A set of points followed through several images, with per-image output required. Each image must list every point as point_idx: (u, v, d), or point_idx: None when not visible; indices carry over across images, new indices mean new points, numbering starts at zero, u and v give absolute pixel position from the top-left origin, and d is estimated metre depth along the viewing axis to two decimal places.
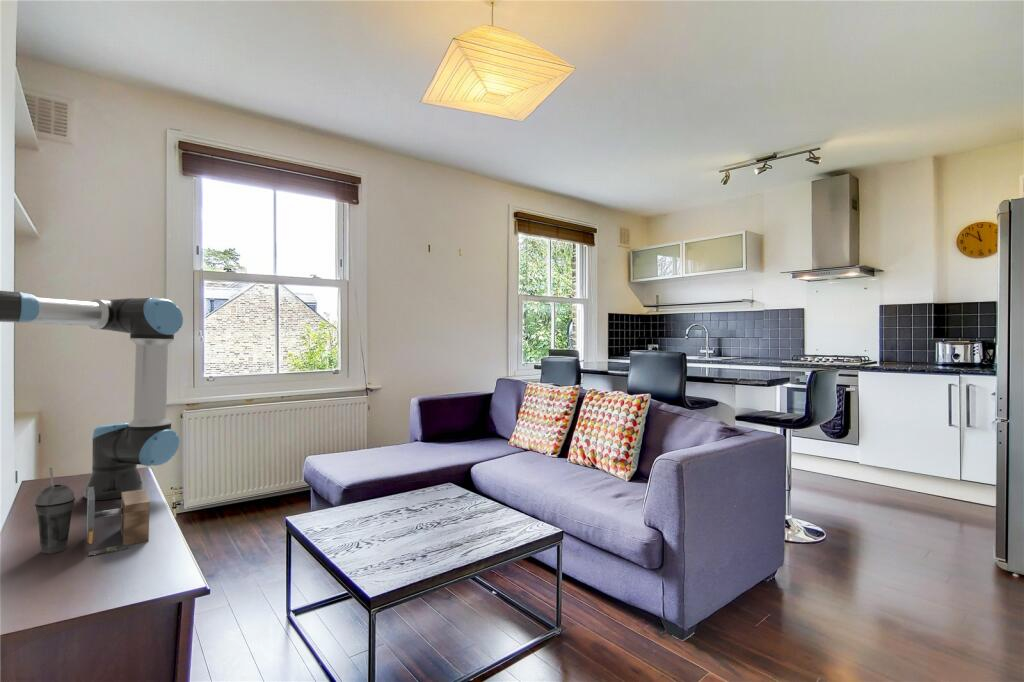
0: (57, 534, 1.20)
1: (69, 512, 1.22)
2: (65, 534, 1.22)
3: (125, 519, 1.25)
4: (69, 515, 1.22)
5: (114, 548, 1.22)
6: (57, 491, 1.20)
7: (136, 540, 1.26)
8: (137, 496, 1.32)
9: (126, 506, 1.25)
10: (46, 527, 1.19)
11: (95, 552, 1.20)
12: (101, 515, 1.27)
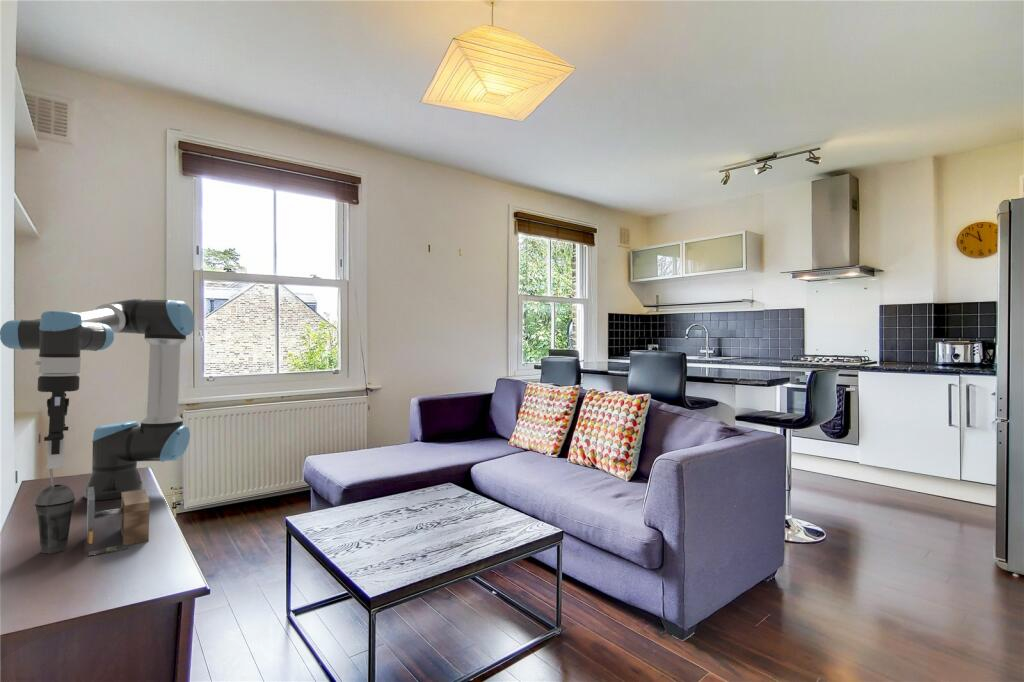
0: (57, 534, 1.20)
1: (69, 512, 1.22)
2: (65, 534, 1.22)
3: (125, 519, 1.25)
4: (69, 515, 1.22)
5: (114, 548, 1.22)
6: (57, 491, 1.20)
7: (136, 540, 1.26)
8: (137, 496, 1.32)
9: (126, 506, 1.25)
10: (46, 527, 1.19)
11: (95, 552, 1.20)
12: (101, 515, 1.27)
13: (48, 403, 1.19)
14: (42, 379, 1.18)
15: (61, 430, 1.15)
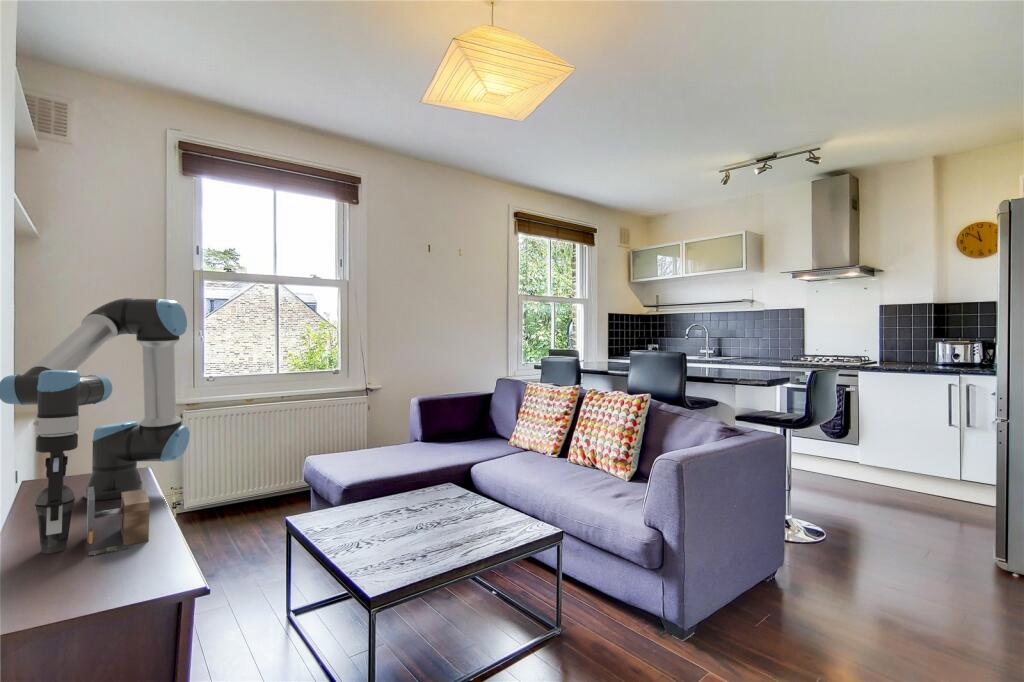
0: (57, 534, 1.20)
1: (69, 512, 1.22)
2: (65, 534, 1.22)
3: (125, 519, 1.25)
4: (69, 515, 1.22)
5: (114, 548, 1.22)
6: None
7: (136, 540, 1.26)
8: (137, 496, 1.32)
9: (126, 506, 1.25)
10: None
11: (95, 552, 1.20)
12: (101, 515, 1.27)
13: (46, 465, 1.19)
14: (40, 440, 1.18)
15: (60, 498, 1.17)
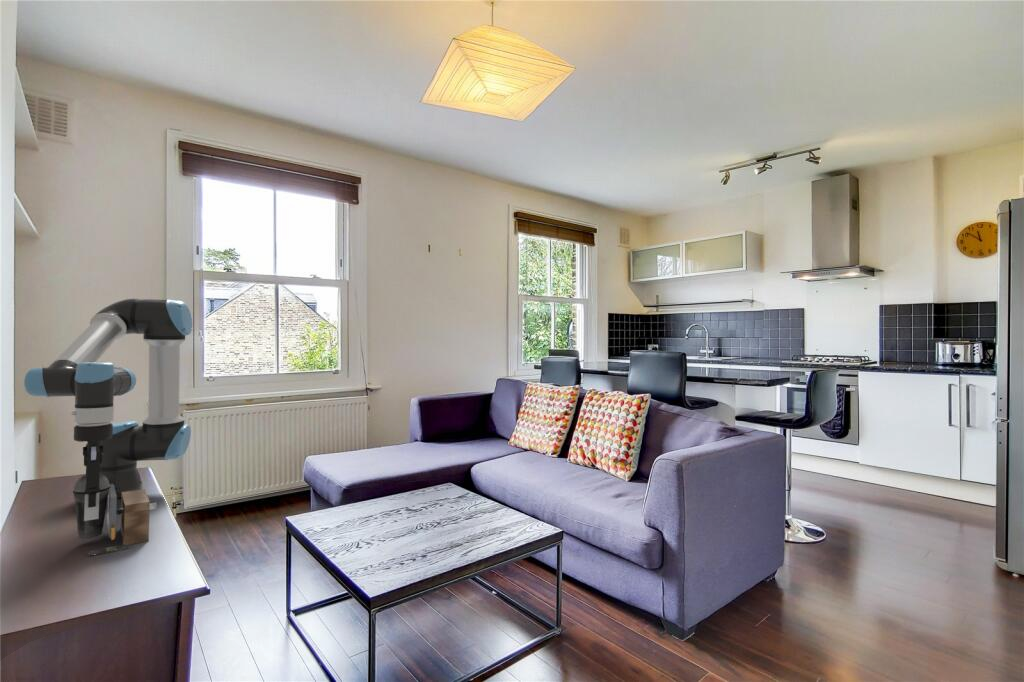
0: (94, 520, 1.25)
1: (105, 499, 1.27)
2: (101, 520, 1.26)
3: (125, 519, 1.25)
4: (105, 502, 1.27)
5: (114, 548, 1.22)
6: None
7: (136, 540, 1.26)
8: (137, 496, 1.32)
9: (126, 506, 1.25)
10: (83, 513, 1.23)
11: (95, 552, 1.20)
12: (122, 512, 1.29)
13: (84, 453, 1.24)
14: (78, 429, 1.23)
15: (97, 485, 1.21)
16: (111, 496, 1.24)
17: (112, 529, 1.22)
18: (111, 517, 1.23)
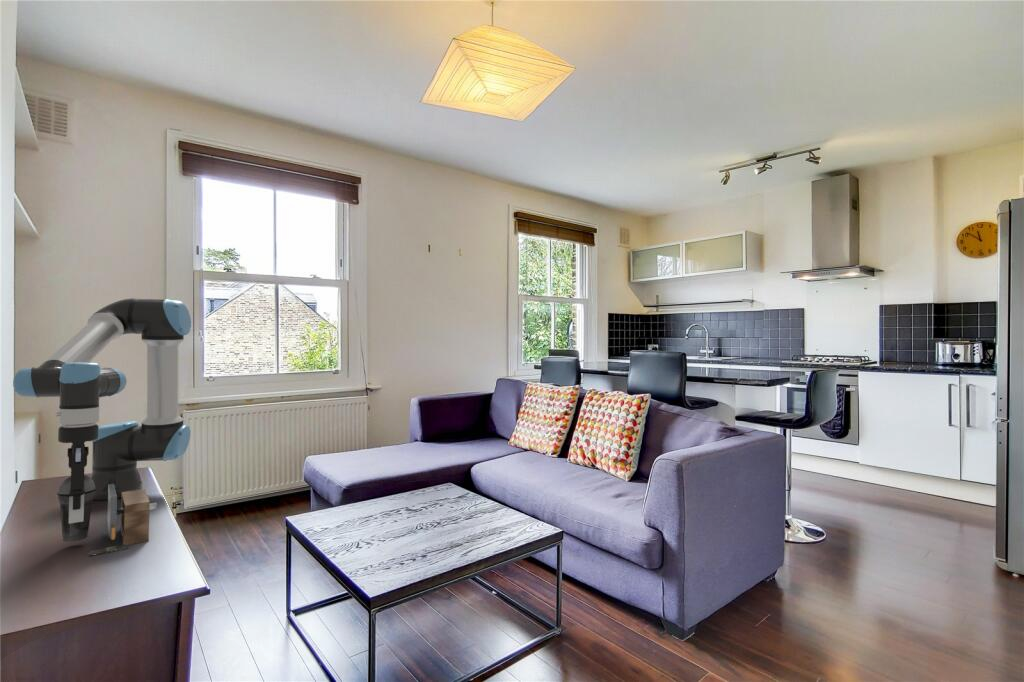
0: (79, 523, 1.23)
1: (90, 501, 1.25)
2: (86, 523, 1.24)
3: (125, 519, 1.25)
4: (90, 504, 1.25)
5: (114, 548, 1.22)
6: None
7: (136, 540, 1.26)
8: (137, 496, 1.32)
9: (126, 506, 1.25)
10: (68, 516, 1.21)
11: (95, 552, 1.20)
12: (122, 512, 1.29)
13: (69, 455, 1.22)
14: (63, 430, 1.21)
15: (82, 487, 1.20)
16: (111, 496, 1.24)
17: (112, 529, 1.22)
18: (111, 517, 1.23)
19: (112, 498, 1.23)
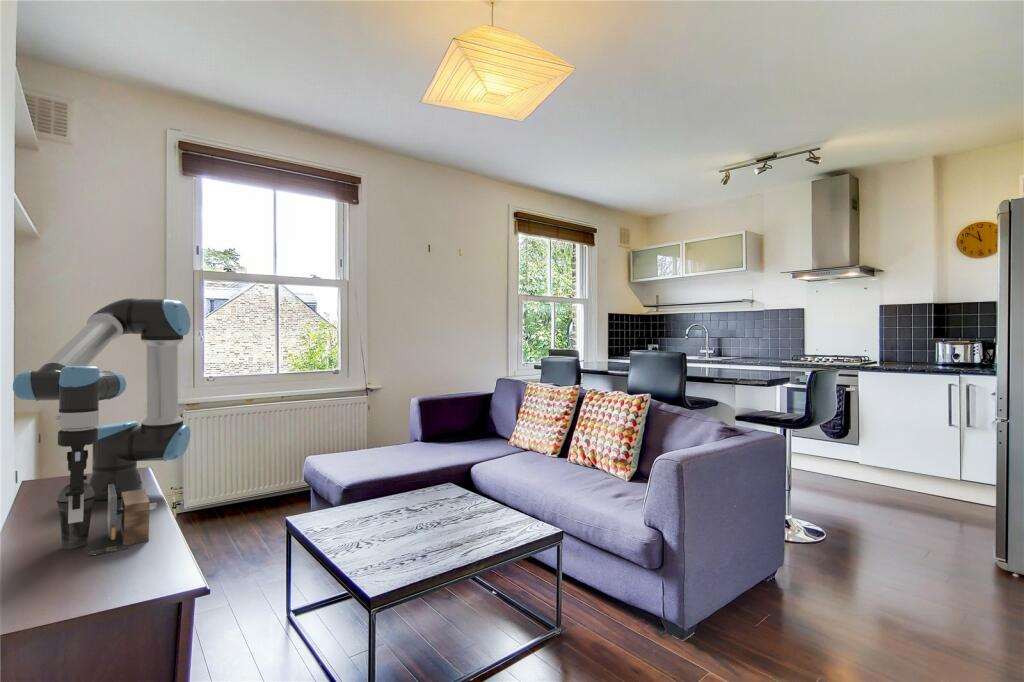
0: (78, 530, 1.23)
1: (89, 509, 1.25)
2: (86, 530, 1.24)
3: (125, 519, 1.25)
4: (89, 511, 1.25)
5: (114, 548, 1.22)
6: None
7: (136, 540, 1.26)
8: (137, 496, 1.32)
9: (126, 506, 1.25)
10: (67, 523, 1.22)
11: (95, 552, 1.20)
12: (122, 512, 1.29)
13: (68, 457, 1.21)
14: (62, 434, 1.21)
15: (82, 486, 1.18)
16: (111, 496, 1.24)
17: (112, 529, 1.22)
18: (111, 517, 1.23)
19: (112, 498, 1.23)
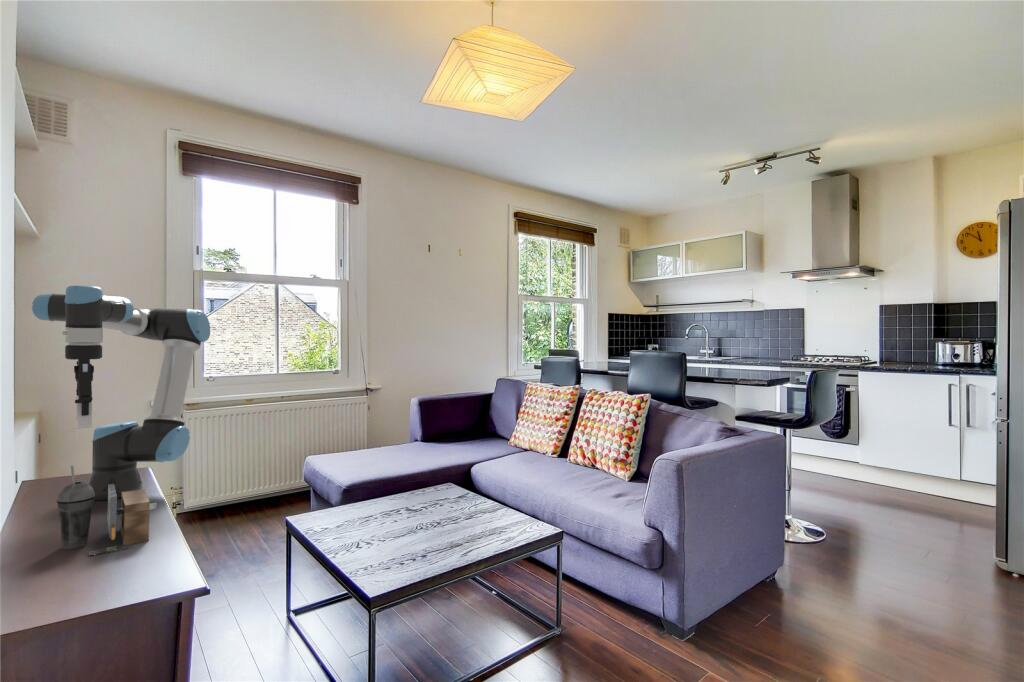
0: (78, 530, 1.23)
1: (89, 509, 1.25)
2: (86, 530, 1.24)
3: (125, 519, 1.25)
4: (89, 512, 1.25)
5: (114, 548, 1.22)
6: (78, 488, 1.23)
7: (136, 540, 1.26)
8: (137, 496, 1.32)
9: (126, 506, 1.25)
10: (67, 523, 1.21)
11: (95, 552, 1.20)
12: (122, 512, 1.29)
13: (75, 369, 1.31)
14: (69, 348, 1.30)
15: (90, 394, 1.27)
16: (111, 496, 1.24)
17: (112, 529, 1.22)
18: (111, 517, 1.23)
19: (112, 498, 1.23)
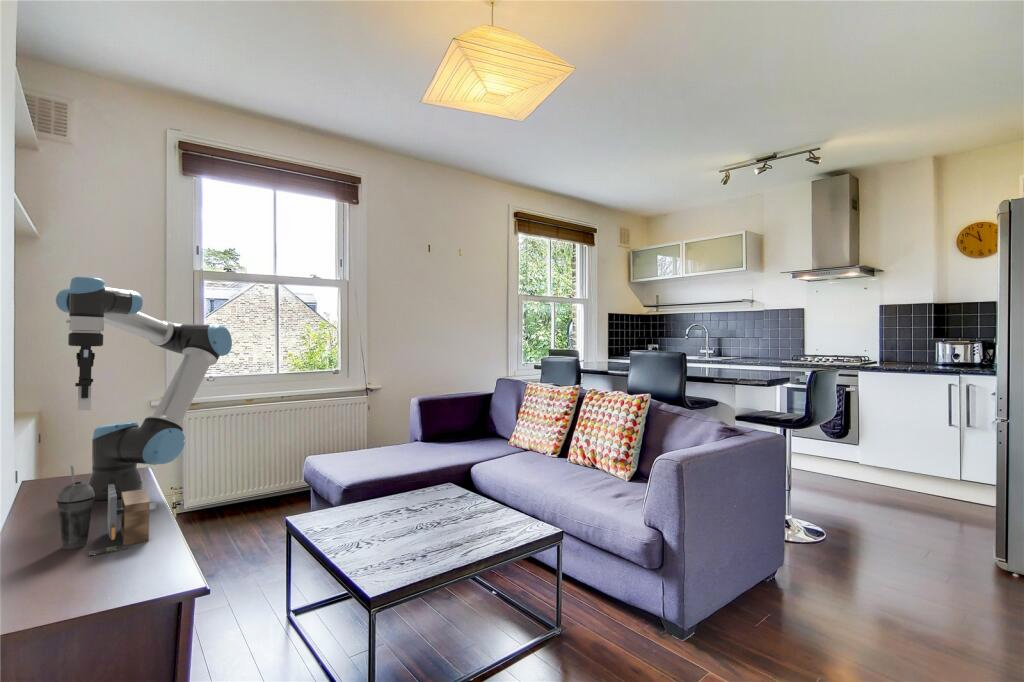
0: (78, 530, 1.23)
1: (89, 509, 1.25)
2: (86, 530, 1.24)
3: (125, 519, 1.25)
4: (89, 512, 1.25)
5: (114, 548, 1.22)
6: (78, 488, 1.23)
7: (136, 540, 1.26)
8: (137, 496, 1.32)
9: (126, 506, 1.25)
10: (67, 523, 1.21)
11: (95, 552, 1.20)
12: (122, 512, 1.29)
13: (77, 355, 1.39)
14: (72, 335, 1.38)
15: (89, 377, 1.35)
16: (111, 496, 1.24)
17: (112, 529, 1.22)
18: (111, 517, 1.23)
19: (112, 498, 1.23)
